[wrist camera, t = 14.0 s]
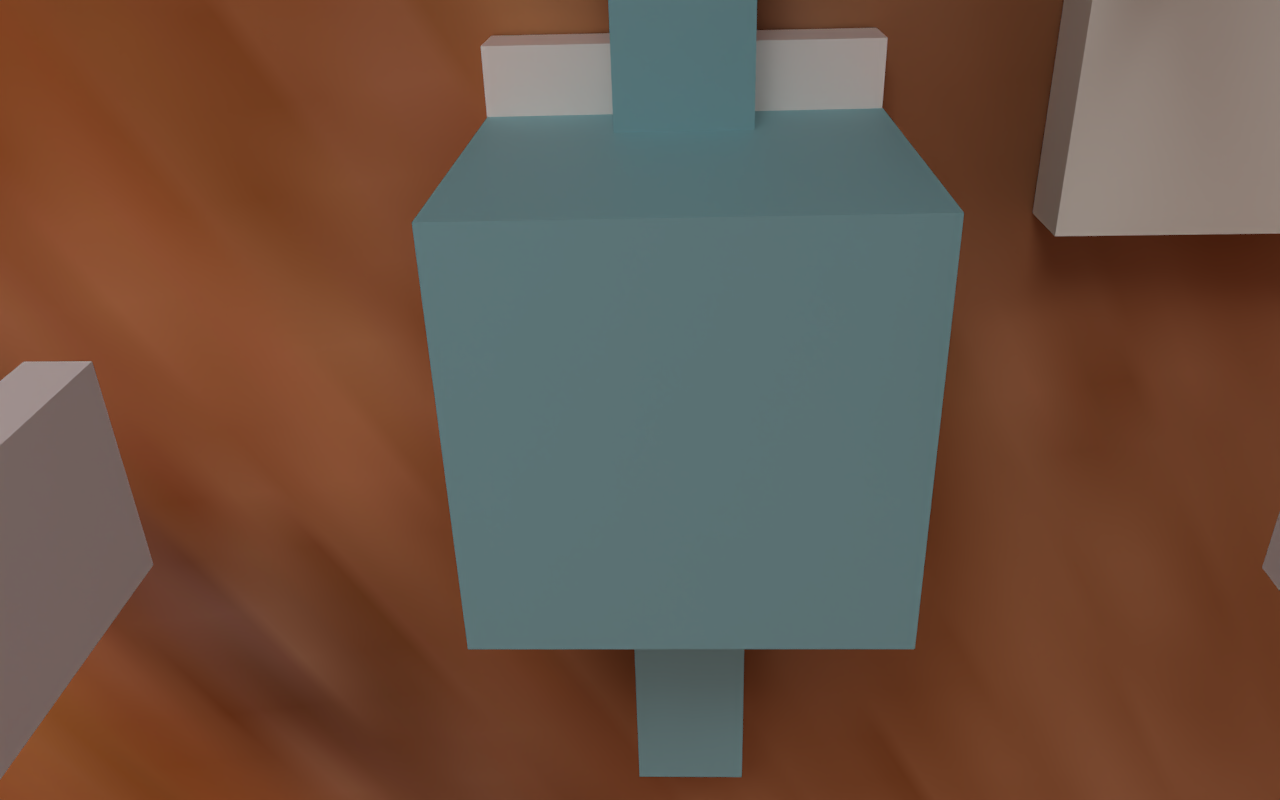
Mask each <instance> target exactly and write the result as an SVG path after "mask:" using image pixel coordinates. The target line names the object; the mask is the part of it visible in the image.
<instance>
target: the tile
mask: <svg viewBox="0 0 1280 800" xmlns="http://www.w3.org/2000/svg"><path fill="white" fill-rule="evenodd" d="M887 40H888V38H887V37H886V36H885V35H884V34H883V33H882V32H881V31H880V30H879V29H877V28H837V29H789V30H757V33H756V83H755V111H781V110H826V109H871V108H882V105H883V92H884V79H885V66H886V53H887ZM481 56H482V67H483V78H484V90H485V101H486V112H487V117H509V116H554V115H600V114H613V106H612V81H611V56H610V33H598V34H550V35H502V36H490V37H489V38H488V39H487V40H486V41H485V42H484V43H483V44H482V45H481Z"/></svg>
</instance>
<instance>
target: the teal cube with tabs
mask: <svg viewBox="0 0 1280 800" xmlns="http://www.w3.org/2000/svg"><path fill="white" fill-rule="evenodd" d="M608 7H609V32H610V56H611V81H612V106H613V114H600V115H554V116H509V117H487V119H486V120H485V121H484V123H483V124H482V126H481V127H480V128H479V130H478V131H477V132H476V134H475V135H474V137H473V138H472V139H471V141H470V142H469V144H468V145H467V146H466V148H465V149H464V151H463V152H462V153H461V155H460V156H459V158H458V159H457V160H456V162H455V163H454V164H453V166H452V167H451V169H450V170H449V171H448V173H447V174H446V176H445V177H444V178H443V180H442V181H441V183H440V184H439V185H438V187H437V188H436V190H435V191H434V192H433V194H432V195H431V197H430V198H429V199H428V201H427V202H426V203H425V205H424V206H423V208H422V209H421V210H420V212H419V213H418V215H417V216H416V217H415V219H414V220H413V222H412V228H413V236H414V243H415V251H416V259H417V266H418V274H419V281H420V289H421V297H422V304H423V312H424V319H425V327H426V335H427V342H428V350H429V357H430V365H431V373H432V380H433V388H434V395H435V403H436V411H437V418H438V426H439V433H440V441H441V449H442V456H443V464H444V471H445V479H446V487H447V494H448V502H449V509H450V517H451V525H452V532H453V540H454V547H455V555H456V563H457V570H458V578H459V585H460V593H461V601H462V608H463V616H464V623H465V631H466V639H467V646H468V649H634V651H635V675H636V700H637V725H638V750H639V774H640V777H742V741H743V691H744V649H915V643H916V634H917V625H918V616H919V607H920V599H921V590H922V581H923V572H924V563H925V554H926V546H927V537H928V528H929V519H930V510H931V501H932V492H933V484H934V475H935V466H936V457H937V448H938V439H939V431H940V422H941V413H942V404H943V395H944V386H945V377H946V369H947V360H948V351H949V342H950V333H951V324H952V316H953V307H954V298H955V289H956V280H957V271H958V262H959V254H960V245H961V236H962V227H963V218H964V212H963V211H962V209H961V208H960V207H959V206H958V204H957V203H956V202H955V200H954V199H953V198H952V197H951V195H950V194H949V193H948V191H947V190H946V189H945V188H944V186H943V185H942V184H941V182H940V181H939V180H938V178H937V177H936V176H935V175H934V173H933V172H932V171H931V169H930V168H929V167H928V166H927V164H926V163H925V162H924V160H923V159H922V158H921V157H920V155H919V154H918V153H917V151H916V150H915V149H914V148H913V146H912V145H911V144H910V142H909V141H908V140H907V139H906V137H905V136H904V135H903V133H902V132H901V131H900V130H899V128H898V127H897V126H896V124H895V123H894V122H893V121H892V119H891V118H890V117H889V115H888V114H887V113H886V112H885V110H884V109H883V108H871V109H826V110H781V111H755V83H756V33H757V0H608Z"/></svg>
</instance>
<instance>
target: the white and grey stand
mask: <svg viewBox="0 0 1280 800" xmlns="http://www.w3.org/2000/svg"><path fill="white" fill-rule="evenodd" d="M1033 214H1034V215H1035V216H1036V217H1037V218H1038V219H1039V220H1040V221H1041V222H1042V224H1043V225H1044V226H1045V227H1046V228H1047V229H1048V230H1049V231H1050V232H1051V233H1052V234H1053V235H1054V236H1121V235H1199V234H1278V233H1280V0H1064V3H1063V10H1062V16H1061V23H1060V30H1059V37H1058V43H1057V50H1056V57H1055V64H1054V71H1053V77H1052V84H1051V91H1050V98H1049V104H1048V111H1047V118H1046V125H1045V131H1044V138H1043V145H1042V152H1041V158H1040V165H1039V172H1038V179H1037V186H1036V192H1035V199H1034V206H1033Z"/></svg>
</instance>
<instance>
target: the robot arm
mask: <svg viewBox="0 0 1280 800" xmlns="http://www.w3.org/2000/svg"><path fill="white" fill-rule="evenodd" d="M152 566H153V562H152V559H151V555H150V552H149V549H148V545H147V542H146V539H145V535H144V532H143V529H142V525H141V522H140V519H139V515H138V512H137V509H136V506H135V502H134V499H133V496H132V492H131V489H130V486H129V482H128V479H127V476H126V472H125V469H124V466H123V462H122V459H121V456H120V453H119V449H118V446H117V443H116V439H115V436H114V433H113V429H112V426H111V423H110V419H109V416H108V413H107V409H106V406H105V403H104V400H103V396H102V393H101V390H100V386H99V383H98V380H97V376H96V373H95V370H94V366H93V363H92V361H64V362H23V363H22V364H20V365H19V366H18V367H17V368H15V369H14V370H13V371H12V372H11V373H9V374H8V375H7V376H6V377H5V378H3V379H2V380H1V381H0V779H1V778H2V776H3V775H4V774H5V772H6V771H7V769H8V768H9V767H10V765H11V764H12V762H13V761H14V760H15V758H16V757H17V755H18V754H19V752H20V751H21V750H22V748H23V747H24V745H25V744H26V743H27V741H28V740H29V738H30V737H31V736H32V734H33V733H34V731H35V730H36V729H37V727H38V726H39V724H40V723H41V722H42V720H43V719H44V717H45V716H46V715H47V713H48V712H49V710H50V709H51V708H52V706H53V705H54V703H55V702H56V701H57V699H58V698H59V696H60V695H61V694H62V692H63V691H64V689H65V688H66V687H67V685H68V684H69V682H70V681H71V680H72V678H73V677H74V675H75V674H76V673H77V671H78V670H79V668H80V667H81V666H82V664H83V663H84V661H85V660H86V659H87V657H88V656H89V654H90V653H91V652H92V650H93V649H94V647H95V646H96V644H97V643H98V642H99V640H100V639H101V637H102V636H103V635H104V633H105V632H106V630H107V629H108V628H109V626H110V625H111V623H112V622H113V621H114V619H115V618H116V616H117V615H118V614H119V612H120V611H121V609H122V608H123V607H124V605H125V604H126V602H127V601H128V600H129V598H130V597H131V595H132V594H133V593H134V591H135V590H136V588H137V587H138V586H139V584H140V583H141V581H142V580H143V579H144V577H145V576H146V574H147V573H148V572H149V570H150V569H151V567H152ZM1262 568H1263V570H1264V571H1265V572H1266V574H1267V575H1268V576H1269V577H1270V579H1271V580H1272V581H1273V583H1274V584H1275V585H1276V587H1277V588H1278V589H1279V590H1280V512H1279V515H1278V518H1277V522H1276V525H1275V528H1274V531H1273V534H1272V538H1271V541H1270V544H1269V547H1268V550H1267V554H1266V557H1265V560H1264V563H1263V566H1262Z"/></svg>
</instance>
